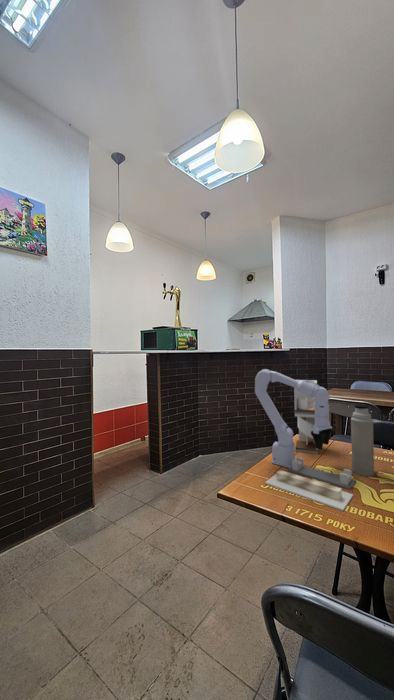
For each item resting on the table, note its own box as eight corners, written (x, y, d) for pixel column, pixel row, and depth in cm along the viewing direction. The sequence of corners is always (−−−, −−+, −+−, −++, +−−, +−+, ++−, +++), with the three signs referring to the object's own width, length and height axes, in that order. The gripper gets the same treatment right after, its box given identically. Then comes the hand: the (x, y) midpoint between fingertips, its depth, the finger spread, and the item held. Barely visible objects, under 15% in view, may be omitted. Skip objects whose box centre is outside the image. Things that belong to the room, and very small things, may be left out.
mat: (265, 483, 108) (264, 482, 108) (279, 473, 117) (279, 471, 117) (343, 511, 89) (343, 509, 89) (353, 496, 98) (353, 494, 98)
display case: (297, 443, 151) (295, 379, 151) (318, 446, 147) (316, 380, 147) (295, 451, 141) (294, 382, 141) (318, 454, 137) (316, 383, 137)
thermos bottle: (374, 470, 117) (372, 404, 117) (374, 478, 111) (372, 408, 111) (352, 466, 122) (351, 402, 122) (351, 473, 115) (350, 406, 115)
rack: (288, 471, 119) (287, 460, 119) (295, 465, 125) (295, 455, 125) (350, 489, 102) (349, 477, 102) (355, 481, 108) (355, 470, 108)
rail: (276, 480, 110) (276, 472, 110) (279, 477, 112) (279, 469, 112) (339, 500, 94) (338, 491, 94) (341, 497, 96) (341, 488, 96)
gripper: (325, 420, 113) (326, 453, 113) (336, 413, 124) (337, 443, 124) (308, 417, 118) (308, 449, 118) (320, 411, 128) (321, 440, 128)
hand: (322, 446), depth 121 cm, fingers open, 7 cm apart
